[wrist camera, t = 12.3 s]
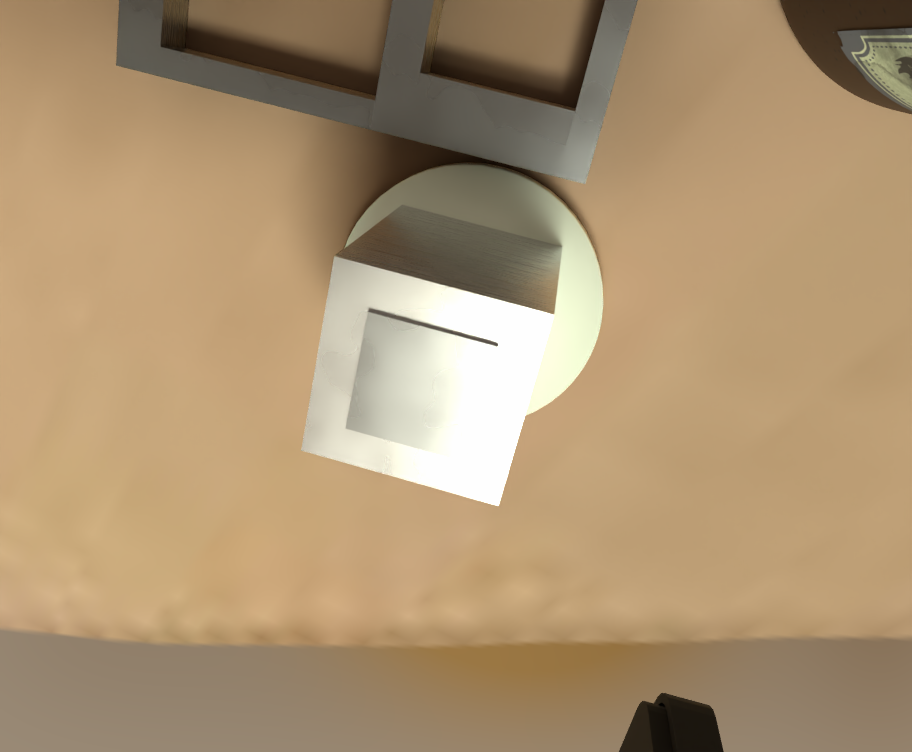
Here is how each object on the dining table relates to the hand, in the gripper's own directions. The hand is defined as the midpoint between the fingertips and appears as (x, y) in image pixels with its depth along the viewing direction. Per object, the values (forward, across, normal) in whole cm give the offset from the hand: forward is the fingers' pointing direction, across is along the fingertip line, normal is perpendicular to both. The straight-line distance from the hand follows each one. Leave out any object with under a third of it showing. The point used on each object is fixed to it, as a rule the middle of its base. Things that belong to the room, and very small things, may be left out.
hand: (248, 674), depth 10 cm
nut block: (+16, -1, 0) cm, 16 cm away
